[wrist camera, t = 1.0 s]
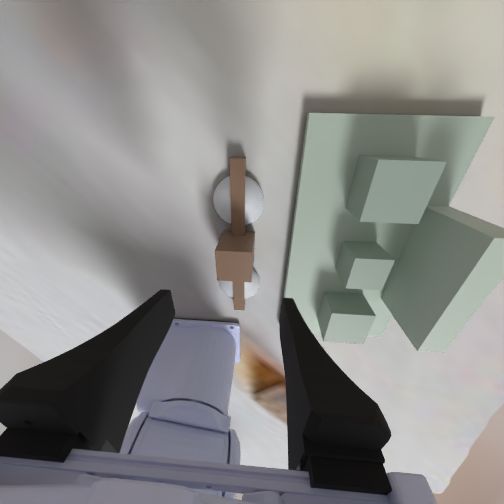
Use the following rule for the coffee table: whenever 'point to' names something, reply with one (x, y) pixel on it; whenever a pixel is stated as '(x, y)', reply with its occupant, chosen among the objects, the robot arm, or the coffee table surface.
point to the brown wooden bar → (237, 232)
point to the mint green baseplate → (389, 228)
